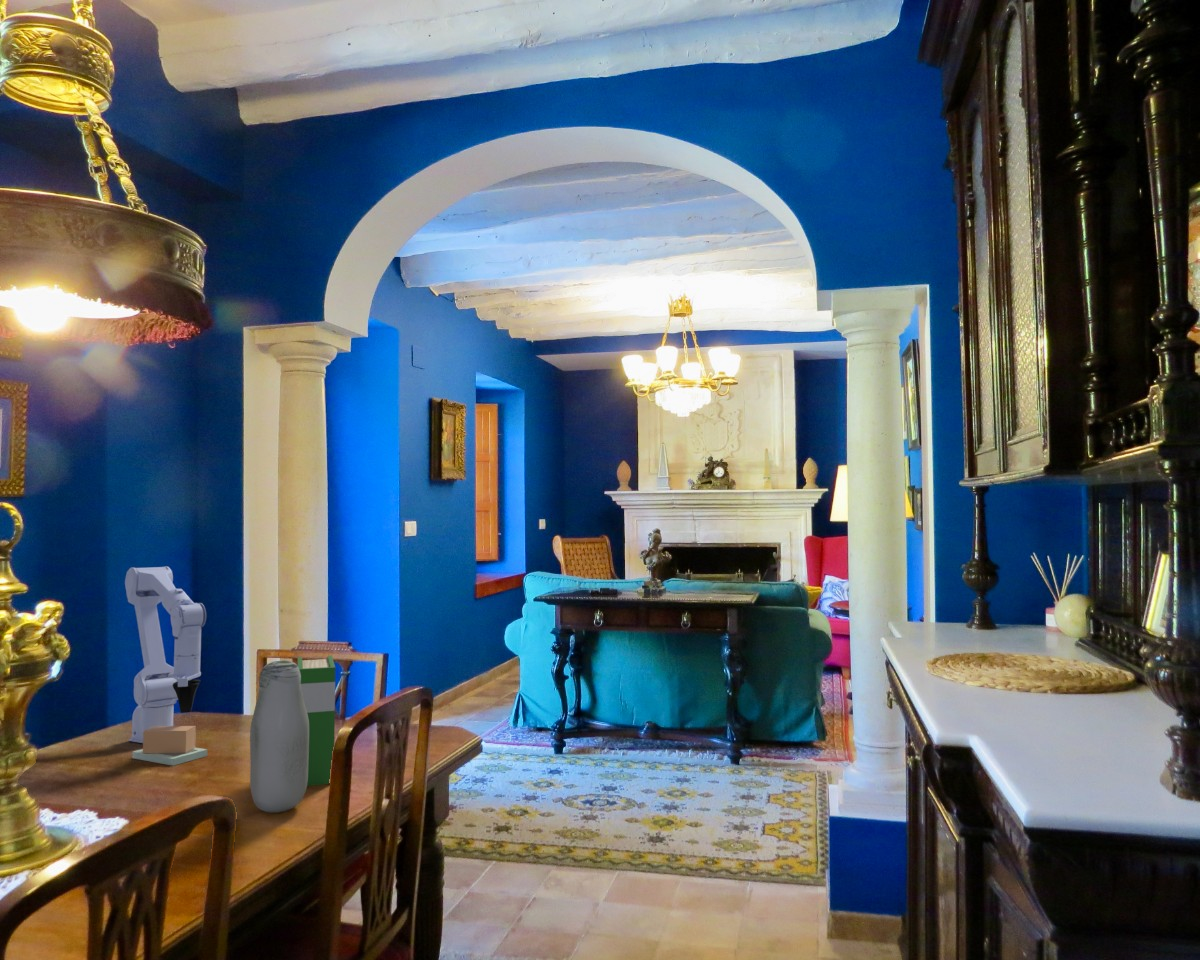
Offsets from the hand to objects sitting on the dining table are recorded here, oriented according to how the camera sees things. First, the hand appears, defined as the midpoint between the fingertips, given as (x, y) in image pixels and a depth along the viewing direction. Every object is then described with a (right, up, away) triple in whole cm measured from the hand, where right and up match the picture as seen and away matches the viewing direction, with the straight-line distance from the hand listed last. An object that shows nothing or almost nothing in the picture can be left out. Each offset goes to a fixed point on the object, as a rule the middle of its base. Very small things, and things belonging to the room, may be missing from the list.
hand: (185, 712), depth 204 cm
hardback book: (+37, -9, -19) cm, 42 cm away
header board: (-1, -9, -5) cm, 11 cm away
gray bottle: (+38, -7, -43) cm, 58 cm away
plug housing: (-1, -7, -5) cm, 9 cm away
